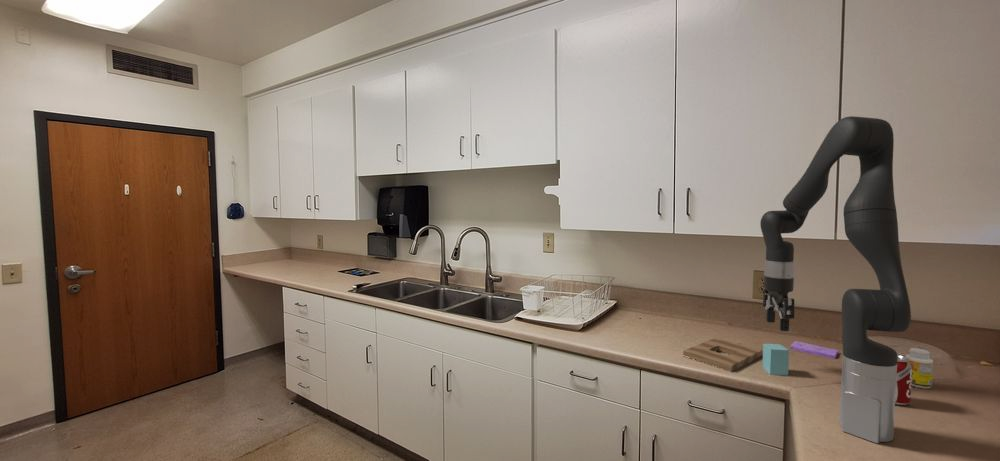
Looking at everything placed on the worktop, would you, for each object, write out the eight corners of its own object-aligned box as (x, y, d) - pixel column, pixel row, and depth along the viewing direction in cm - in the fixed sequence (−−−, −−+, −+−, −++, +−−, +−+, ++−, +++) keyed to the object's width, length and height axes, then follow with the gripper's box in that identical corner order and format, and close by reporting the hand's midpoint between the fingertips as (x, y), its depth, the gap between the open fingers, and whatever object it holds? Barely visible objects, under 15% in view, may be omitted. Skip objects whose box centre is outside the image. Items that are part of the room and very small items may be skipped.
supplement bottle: (899, 379, 119) (901, 345, 118) (924, 382, 117) (926, 348, 116) (910, 387, 114) (912, 352, 113) (936, 390, 111) (938, 355, 111)
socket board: (731, 371, 126) (731, 365, 126) (683, 356, 139) (683, 350, 139) (762, 355, 138) (762, 350, 138) (715, 342, 151) (715, 337, 151)
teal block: (788, 375, 123) (788, 350, 122) (770, 374, 123) (770, 349, 123) (779, 368, 127) (780, 344, 127) (762, 368, 128) (763, 343, 128)
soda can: (873, 392, 111) (875, 350, 110) (908, 399, 107) (910, 355, 106) (875, 401, 106) (878, 357, 105) (912, 409, 102) (914, 363, 101)
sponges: (795, 345, 149) (795, 340, 149) (838, 354, 139) (838, 349, 139) (790, 350, 144) (790, 345, 144) (834, 360, 135) (835, 354, 135)
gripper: (805, 279, 116) (803, 334, 117) (780, 271, 130) (778, 319, 131) (776, 279, 117) (775, 333, 118) (755, 270, 131) (753, 319, 132)
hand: (777, 326), depth 125 cm, fingers open, 8 cm apart
